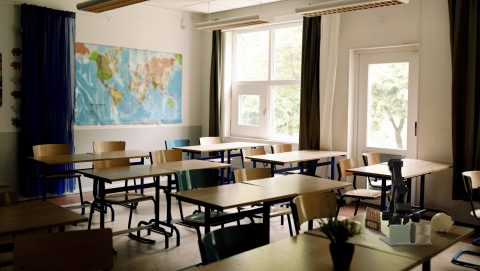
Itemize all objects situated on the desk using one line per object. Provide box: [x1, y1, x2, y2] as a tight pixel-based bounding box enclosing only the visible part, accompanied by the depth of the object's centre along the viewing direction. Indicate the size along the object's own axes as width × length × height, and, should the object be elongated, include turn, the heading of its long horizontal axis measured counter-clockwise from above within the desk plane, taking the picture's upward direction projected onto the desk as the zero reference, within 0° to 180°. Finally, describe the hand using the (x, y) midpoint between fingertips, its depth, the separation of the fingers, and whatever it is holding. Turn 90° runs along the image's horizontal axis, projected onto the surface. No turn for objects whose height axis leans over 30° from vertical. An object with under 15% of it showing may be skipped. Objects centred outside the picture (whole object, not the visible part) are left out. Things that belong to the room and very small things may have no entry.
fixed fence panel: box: [409, 222, 432, 244], centre depth 236 cm, size 10×2×10 cm, turn 98°
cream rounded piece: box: [430, 212, 455, 233], centre depth 258 cm, size 10×12×11 cm
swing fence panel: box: [388, 224, 411, 243], centre depth 235 cm, size 10×1×9 cm, turn 95°
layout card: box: [378, 236, 434, 247], centre depth 241 cm, size 22×14×1 cm, turn 98°
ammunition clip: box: [364, 206, 382, 232], centre depth 263 cm, size 11×2×12 cm, turn 30°
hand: (401, 231), depth 236 cm, fingers closed
